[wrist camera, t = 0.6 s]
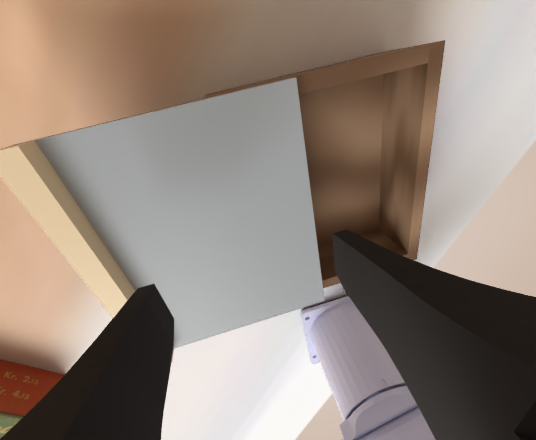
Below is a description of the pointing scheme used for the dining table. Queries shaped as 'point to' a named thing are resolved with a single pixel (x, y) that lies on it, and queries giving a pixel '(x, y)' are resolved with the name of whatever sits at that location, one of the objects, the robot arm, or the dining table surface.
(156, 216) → the lid
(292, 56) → the dining table surface
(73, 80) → the dining table surface
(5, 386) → the carton
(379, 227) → the box
